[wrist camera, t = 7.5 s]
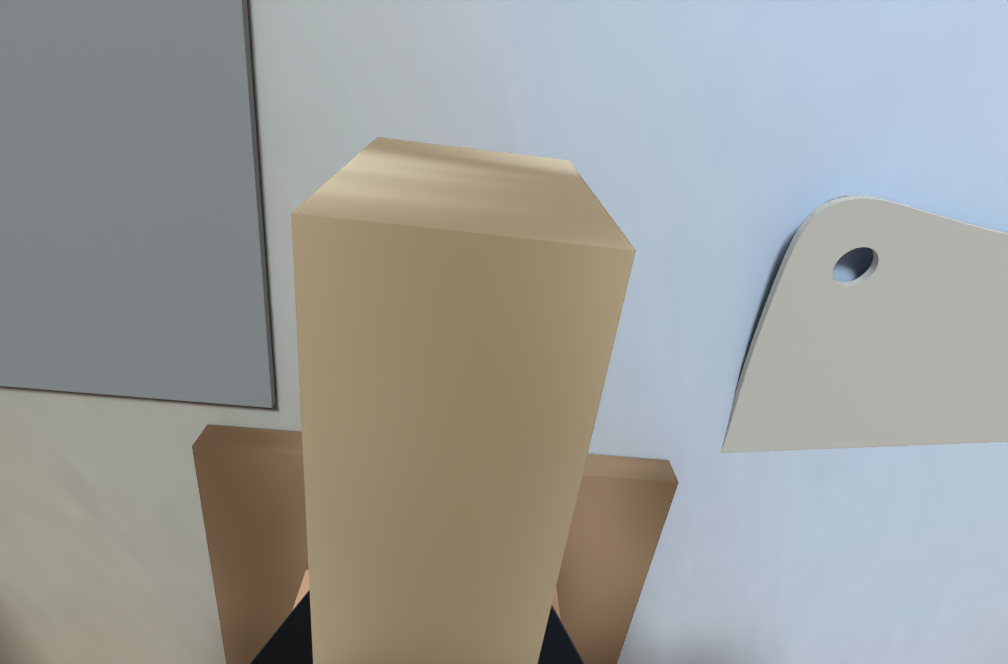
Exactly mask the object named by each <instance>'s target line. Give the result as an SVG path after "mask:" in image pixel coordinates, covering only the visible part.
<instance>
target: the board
mask: <svg viewBox="0 0 1008 664" xmlns="http://www.w3.org/2000/svg"><path fill="white" fill-rule="evenodd" d="M192 449H193V455H194V461H195V468H196V474H197V480H198V487H199V493H200V499H201V506H202V512H203V518H204V525H205V531H206V537H207V544H208V550H209V556H210V563H211V569H212V575H213V582H214V588H215V594H216V601H217V607H218V613H219V620H220V626H221V632H222V638H223V645H224V651H225V657H226V664H250V662H251V661H252V660H253V659H254V657H255V656H256V655H257V654H258V652H259V651H260V650H261V649H262V647H263V646H264V645H265V644H266V643H267V641H268V640H269V639H270V638H271V636H272V635H273V634H274V633H275V631H276V630H277V629H278V628H279V627H280V625H281V624H282V623H283V622H284V620H285V619H286V618H287V617H288V615H289V614H290V613H291V612H292V610H293V607H294V604H295V601H296V598H297V595H298V592H299V589H300V586H301V583H302V580H303V577H304V574H305V571H306V570H309V568H308V547H307V526H306V506H305V485H304V464H303V443H302V432H297V431H285V430H272V429H259V428H246V427H233V426H220V425H207V426H206V428H205V429H204V430H203V432H202V433H201V435H200V436H199V437H198V439H197V440H196V441H195V443H194V444H193V446H192ZM677 485H678V480H677V478H676V476H675V474H674V471H673V469H672V467H671V464H670V462H669V460H657V459H644V458H631V457H618V456H605V455H593V454H587V458H586V462H585V466H584V470H583V475H582V479H581V483H580V487H579V491H578V496H577V500H576V504H575V508H574V512H573V517H572V521H571V525H570V529H569V533H568V538H567V542H566V546H565V550H564V554H563V559H562V563H561V567H560V571H559V575H558V580H557V584H556V588H557V595H558V603H559V610H560V618H561V622H562V623H563V625H564V627H565V629H566V631H567V633H568V634H569V636H570V638H571V640H572V642H573V643H574V645H575V647H576V649H577V651H578V652H579V654H580V656H581V658H582V660H583V661H584V663H585V664H617V661H618V658H619V655H620V652H621V649H622V646H623V644H624V641H625V638H626V635H627V632H628V629H629V626H630V623H631V620H632V617H633V614H634V611H635V608H636V605H637V603H638V600H639V597H640V594H641V591H642V588H643V585H644V582H645V579H646V576H647V573H648V570H649V567H650V564H651V561H652V559H653V556H654V553H655V550H656V547H657V544H658V541H659V538H660V535H661V532H662V529H663V526H664V523H665V520H666V518H667V515H668V512H669V509H670V506H671V503H672V500H673V497H674V494H675V491H676V488H677Z"/></svg>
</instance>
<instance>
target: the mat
mask: <svg viewBox="0 0 1008 664" xmlns="http://www.w3.org/2000/svg"><path fill="white" fill-rule="evenodd" d="M0 386H7V387H20V388H32V389H44V390H57V391H69V392H81V393H94V394H106V395H118V396H131V397H143V398H155V399H168V400H180V401H192V402H205V403H217V404H229V405H242V406H254V407H266V408H272V407H273V406H274V404H275V402H276V401H275V387H274V373H273V359H272V345H271V331H270V317H269V303H268V289H267V275H266V261H265V247H264V233H263V219H262V205H261V191H260V177H259V163H258V149H257V135H256V121H255V107H254V93H253V79H252V65H251V51H250V37H249V23H248V9H247V0H0Z"/></svg>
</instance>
